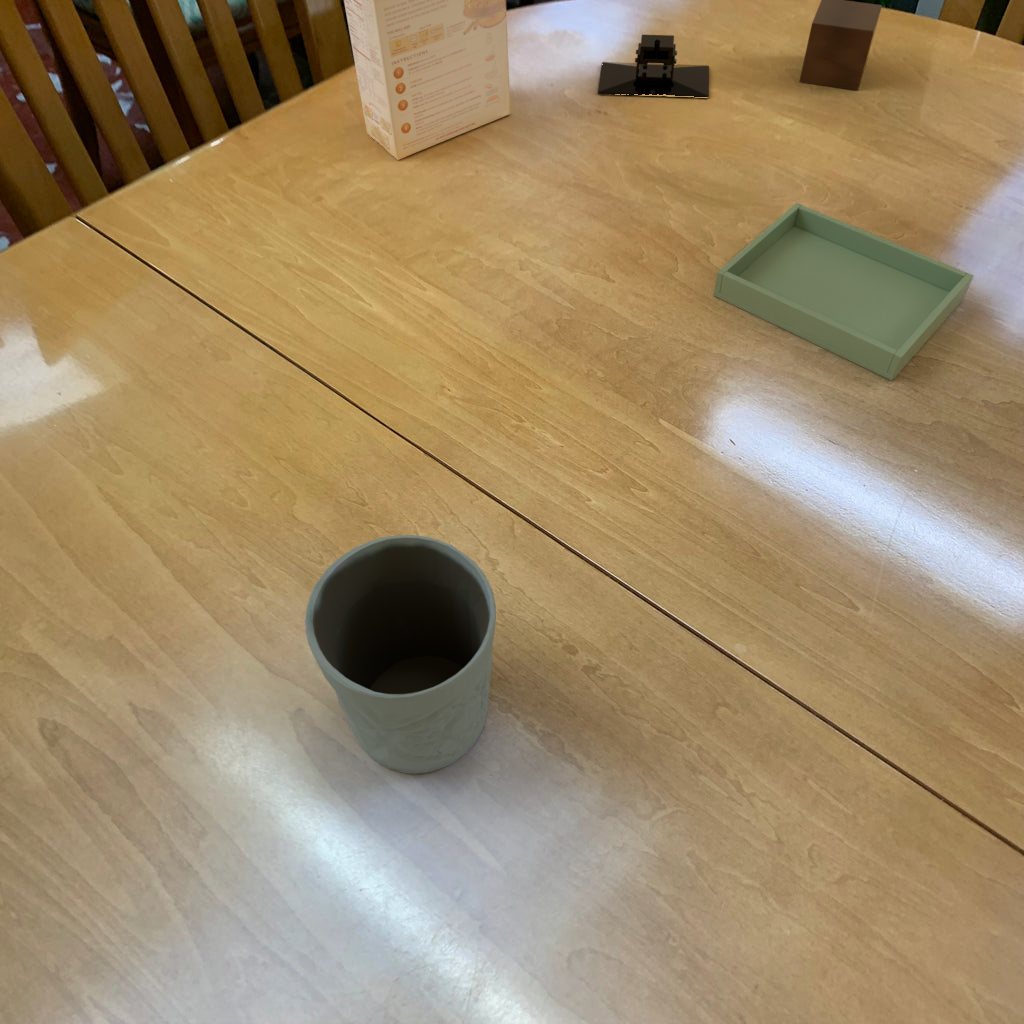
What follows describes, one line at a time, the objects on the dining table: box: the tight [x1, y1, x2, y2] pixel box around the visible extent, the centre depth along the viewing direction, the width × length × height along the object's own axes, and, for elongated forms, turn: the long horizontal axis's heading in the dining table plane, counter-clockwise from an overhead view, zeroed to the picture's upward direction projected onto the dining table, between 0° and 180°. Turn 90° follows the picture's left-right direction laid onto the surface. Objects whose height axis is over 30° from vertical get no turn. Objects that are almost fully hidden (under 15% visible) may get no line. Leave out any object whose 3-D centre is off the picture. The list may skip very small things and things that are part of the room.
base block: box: [799, 0, 883, 91], centre depth 103 cm, size 6×6×6 cm
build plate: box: [597, 34, 710, 97], centre depth 104 cm, size 12×7×5 cm, turn 82°
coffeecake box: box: [343, 0, 512, 161], centre depth 94 cm, size 15×7×20 cm, turn 126°
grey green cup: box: [304, 534, 497, 774], centre depth 54 cm, size 10×10×12 cm
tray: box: [713, 202, 975, 381], centre depth 81 cm, size 17×13×3 cm
